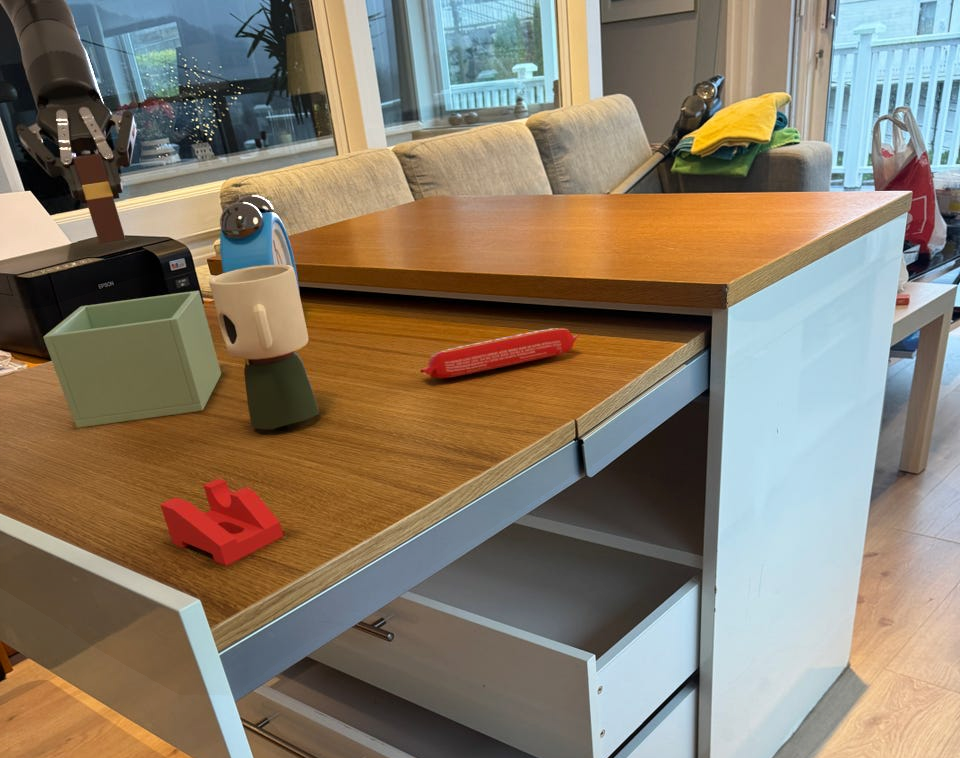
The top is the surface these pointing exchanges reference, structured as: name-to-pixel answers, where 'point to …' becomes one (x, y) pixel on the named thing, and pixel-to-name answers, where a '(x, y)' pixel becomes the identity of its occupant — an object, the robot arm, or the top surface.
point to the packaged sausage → (499, 352)
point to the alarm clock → (253, 236)
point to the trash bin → (135, 359)
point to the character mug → (266, 341)
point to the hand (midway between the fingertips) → (99, 195)
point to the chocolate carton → (99, 198)
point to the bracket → (222, 523)
